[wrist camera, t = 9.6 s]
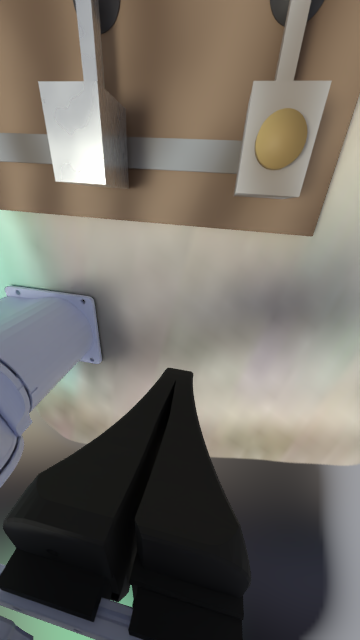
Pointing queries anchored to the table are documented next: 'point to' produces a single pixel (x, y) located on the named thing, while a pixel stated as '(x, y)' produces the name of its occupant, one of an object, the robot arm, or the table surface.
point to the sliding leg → (86, 116)
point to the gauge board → (189, 108)
